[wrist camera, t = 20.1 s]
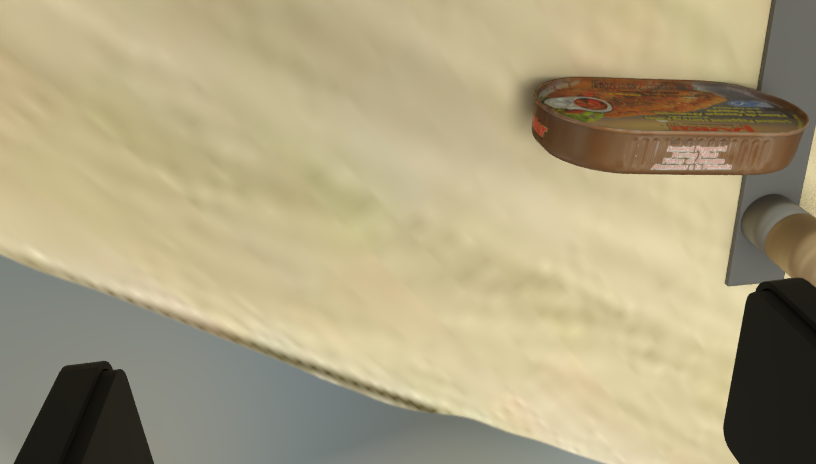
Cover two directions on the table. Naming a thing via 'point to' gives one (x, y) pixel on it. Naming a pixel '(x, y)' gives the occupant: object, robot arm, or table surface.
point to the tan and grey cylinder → (783, 234)
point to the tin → (666, 126)
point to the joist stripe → (812, 92)
